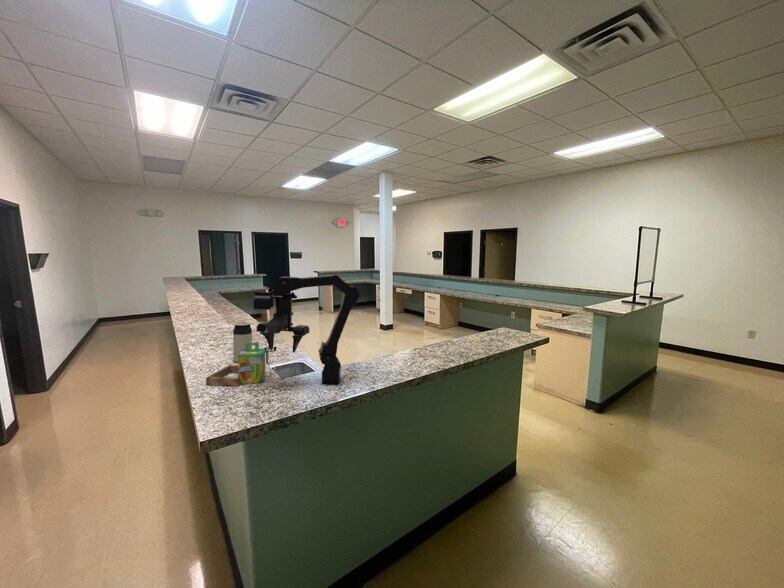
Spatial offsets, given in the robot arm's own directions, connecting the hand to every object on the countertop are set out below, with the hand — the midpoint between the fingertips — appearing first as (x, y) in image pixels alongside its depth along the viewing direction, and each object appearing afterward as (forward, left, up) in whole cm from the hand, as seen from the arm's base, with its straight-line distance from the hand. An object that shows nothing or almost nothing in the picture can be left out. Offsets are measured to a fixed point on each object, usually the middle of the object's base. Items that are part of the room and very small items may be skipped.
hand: (282, 351), depth 119 cm
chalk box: (+14, -4, -14) cm, 20 cm away
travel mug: (+31, -28, -14) cm, 44 cm away
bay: (+21, -4, -13) cm, 25 cm away
